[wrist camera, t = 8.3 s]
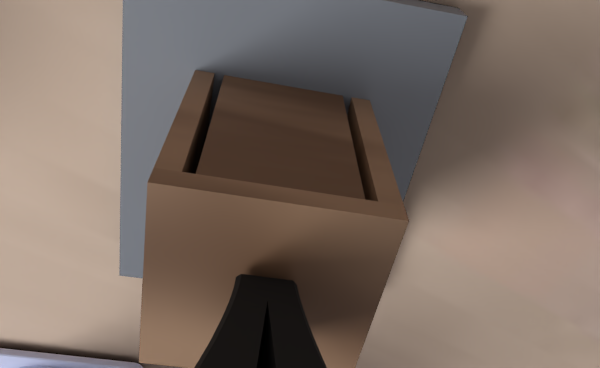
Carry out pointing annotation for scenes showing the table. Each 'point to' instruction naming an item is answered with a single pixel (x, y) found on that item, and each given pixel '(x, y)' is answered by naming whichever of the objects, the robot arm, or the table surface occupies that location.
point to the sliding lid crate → (267, 215)
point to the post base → (278, 72)
